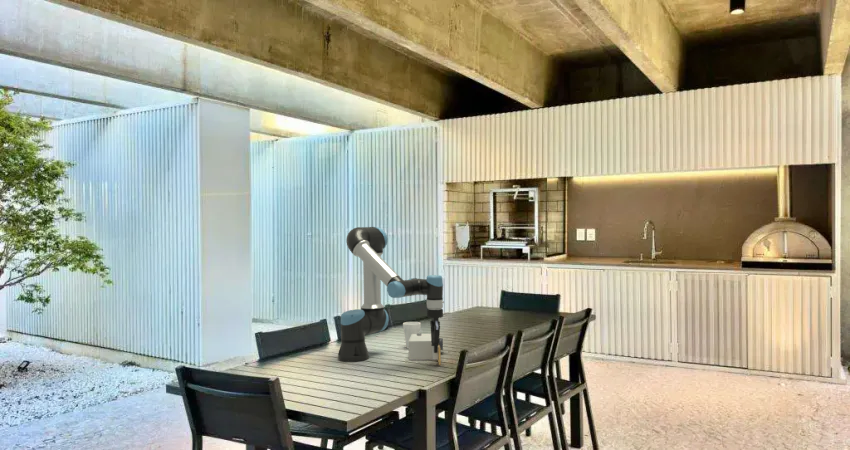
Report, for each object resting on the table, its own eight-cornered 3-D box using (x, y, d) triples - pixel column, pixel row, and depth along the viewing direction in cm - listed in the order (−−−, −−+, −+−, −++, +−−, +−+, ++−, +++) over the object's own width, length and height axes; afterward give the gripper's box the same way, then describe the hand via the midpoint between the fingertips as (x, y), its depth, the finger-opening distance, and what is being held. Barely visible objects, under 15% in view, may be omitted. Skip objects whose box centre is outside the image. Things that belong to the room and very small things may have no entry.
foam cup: (422, 345, 324) (421, 321, 324) (420, 349, 315) (419, 324, 315) (404, 345, 325) (404, 321, 325) (402, 349, 315) (401, 324, 316)
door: (439, 359, 289) (439, 342, 289) (441, 365, 276) (441, 347, 276) (436, 359, 289) (436, 342, 289) (438, 365, 276) (438, 347, 276)
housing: (442, 359, 289) (441, 339, 289) (409, 359, 290) (408, 339, 290) (443, 351, 309) (442, 332, 309) (412, 351, 310) (411, 332, 310)
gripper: (445, 310, 273) (445, 362, 273) (440, 306, 286) (440, 356, 286) (429, 310, 272) (429, 362, 272) (424, 307, 285) (425, 356, 285)
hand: (435, 359), depth 279 cm, fingers closed
